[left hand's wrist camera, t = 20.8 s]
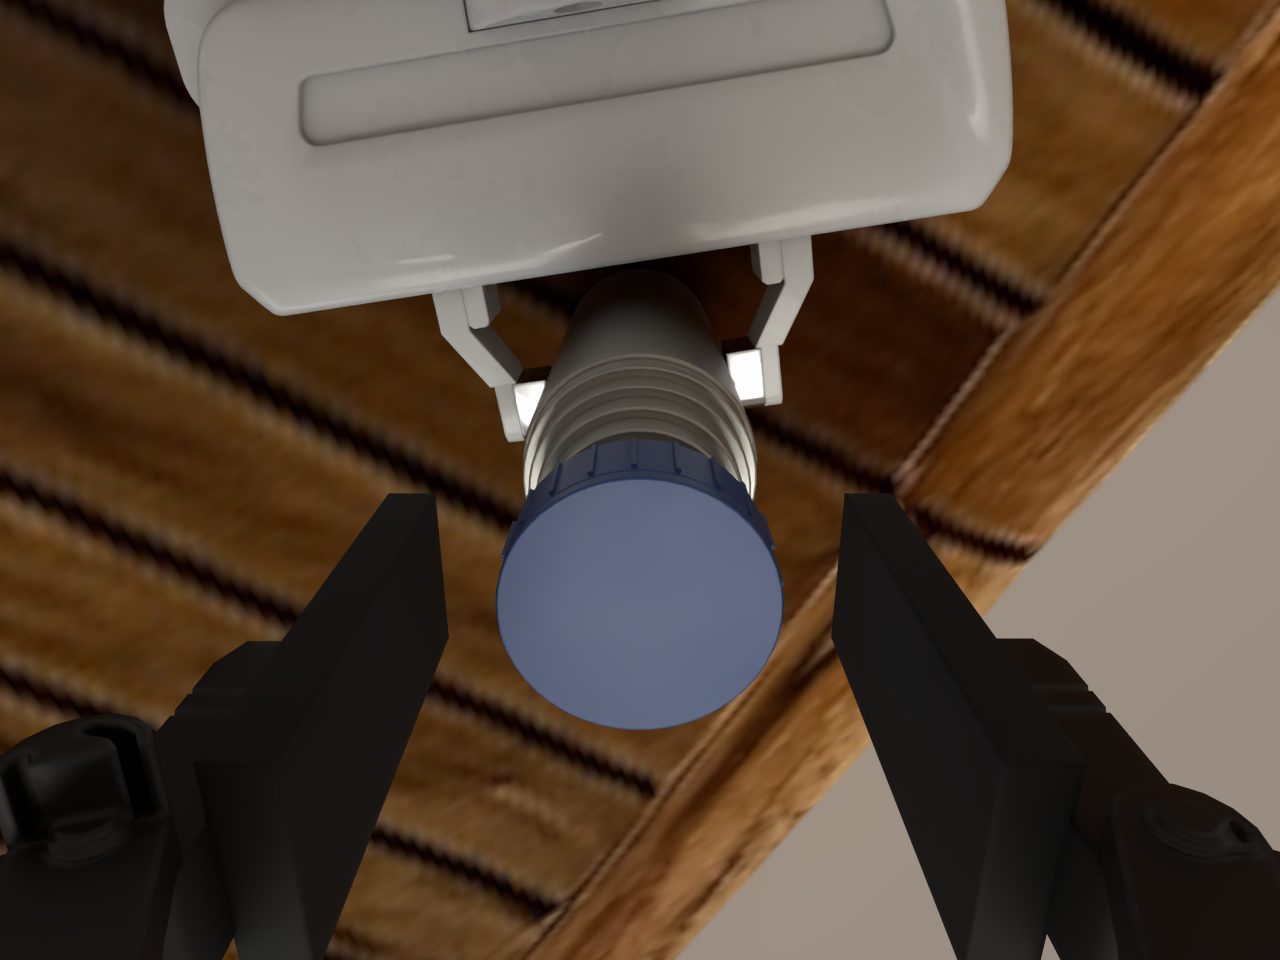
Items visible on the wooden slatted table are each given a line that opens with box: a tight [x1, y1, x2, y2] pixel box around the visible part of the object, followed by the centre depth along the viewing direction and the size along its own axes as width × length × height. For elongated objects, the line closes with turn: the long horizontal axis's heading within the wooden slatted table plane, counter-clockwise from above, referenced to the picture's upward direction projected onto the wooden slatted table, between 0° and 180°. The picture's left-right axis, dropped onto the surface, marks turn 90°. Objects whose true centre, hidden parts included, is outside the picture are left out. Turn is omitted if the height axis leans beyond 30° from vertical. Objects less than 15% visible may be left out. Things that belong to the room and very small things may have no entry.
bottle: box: [522, 269, 758, 502], centre depth 22 cm, size 5×5×19 cm
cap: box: [496, 437, 784, 730], centre depth 14 cm, size 4×4×2 cm
